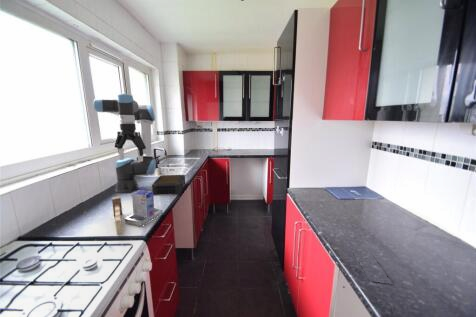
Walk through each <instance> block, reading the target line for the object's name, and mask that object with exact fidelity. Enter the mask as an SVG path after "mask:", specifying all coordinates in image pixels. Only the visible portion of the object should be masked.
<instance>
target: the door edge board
mask: <svg viewBox="0 0 476 317" xmlns="http://www.w3.org/2000/svg"><path fill="white" fill-rule="evenodd" d="M111 201H112V203H111V204H112V209H113V211H112V212H113V217H114V218H115V221H114V222H115V228H116V235H117V234H118V235H122V234H123V230H122V229H123V228H121V227H122V219H121V218H122V217H121V216H123V208H122V207H123V206H122V197H121V196H114V197H112V198H111ZM121 233H122V234H121Z"/></svg>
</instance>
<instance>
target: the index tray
mask: <svg viewBox="0 0 476 317" xmlns="http://www.w3.org/2000/svg"><path fill="white" fill-rule="evenodd" d="M154 212H155V213H154V214H152V215H150V216H148V217H144V216H140V215H135V214H133V213H132V214H130V215H128V216H127V217H125V218H124V223H125V224H126V225H131V224H132V226H136V225H137V226H136V227H141V226H143V225H145V224H146V223H148V222H149V221H151V220H152V219H154V218H155V219H157V218H158V217H160V216H161V215H163V214H162V213H163V209H162V208H156V207H154ZM160 214H161V215H160ZM159 215H160V216H159ZM157 216H158V217H157ZM156 217H157V218H156ZM155 219H154V220H155ZM152 221H153V220H152ZM152 221H151V222H152ZM149 223H150V222H149ZM149 223H148V224H149ZM146 225H147V224H146ZM146 225H145V226H146ZM143 227H144V226H143Z"/></svg>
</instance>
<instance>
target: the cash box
mask: <svg viewBox="0 0 476 317" xmlns="http://www.w3.org/2000/svg"><path fill="white" fill-rule="evenodd" d="M185 185H186V175H185V174H166V175H165V174H162V175H160V176H158V178H157V179H156V180H155V181H154V182H153V183H152V184H151V192H153V196H163V195H181V194H182V192H183V190H184V187H185Z"/></svg>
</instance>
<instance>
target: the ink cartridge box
mask: <svg viewBox="0 0 476 317" xmlns="http://www.w3.org/2000/svg"><path fill="white" fill-rule="evenodd" d="M147 189H148V187H145V186H141V187H140V189H137V190H135V191H132V192H131V197H132V199H131V200H132V214H135V215H140V216H144V217H148V216H150V215H152V214H154V213H155V212H154V208H155V200H154V195H153V192H152V191H149V190H147Z"/></svg>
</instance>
